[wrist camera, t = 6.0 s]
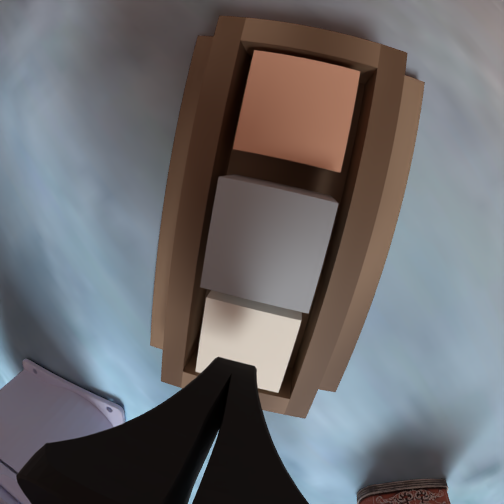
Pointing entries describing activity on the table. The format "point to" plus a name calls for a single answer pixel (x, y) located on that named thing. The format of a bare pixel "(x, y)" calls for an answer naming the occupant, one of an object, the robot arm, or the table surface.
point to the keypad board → (292, 174)
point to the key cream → (248, 336)
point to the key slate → (267, 241)
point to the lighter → (406, 492)
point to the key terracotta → (297, 110)
